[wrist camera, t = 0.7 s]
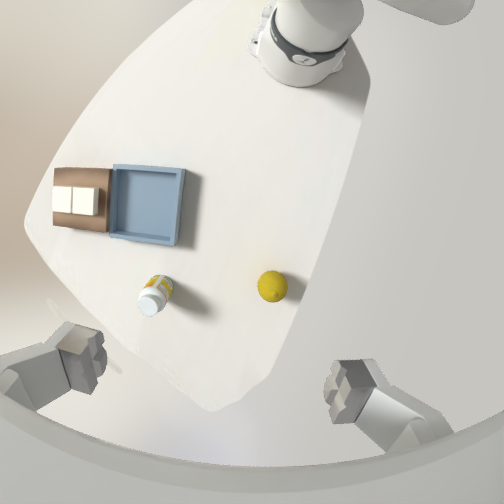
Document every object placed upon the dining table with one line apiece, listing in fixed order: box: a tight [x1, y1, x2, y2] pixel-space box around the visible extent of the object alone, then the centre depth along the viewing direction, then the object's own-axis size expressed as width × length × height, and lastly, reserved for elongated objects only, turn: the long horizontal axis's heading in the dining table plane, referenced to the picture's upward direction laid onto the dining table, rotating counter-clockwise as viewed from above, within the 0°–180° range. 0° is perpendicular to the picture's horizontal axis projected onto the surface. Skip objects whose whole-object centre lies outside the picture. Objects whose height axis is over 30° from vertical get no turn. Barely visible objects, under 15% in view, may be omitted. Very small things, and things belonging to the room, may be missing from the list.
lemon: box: [258, 271, 287, 302], centre depth 52 cm, size 6×6×8 cm
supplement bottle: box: [138, 275, 173, 317], centre depth 51 cm, size 5×5×10 cm
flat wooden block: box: [53, 167, 113, 232], centre depth 48 cm, size 12×14×4 cm
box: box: [109, 164, 186, 246], centre depth 49 cm, size 14×14×4 cm
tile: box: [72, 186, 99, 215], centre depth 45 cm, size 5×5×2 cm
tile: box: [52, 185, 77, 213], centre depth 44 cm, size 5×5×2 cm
